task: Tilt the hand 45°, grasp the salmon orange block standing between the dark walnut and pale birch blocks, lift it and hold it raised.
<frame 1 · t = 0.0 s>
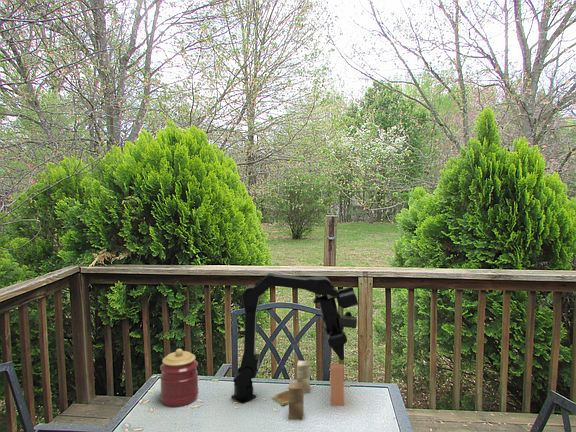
hand: (340, 354, 137), 15 cm above the table, tool pointing down, fingers open, 9 cm apart
shard: (284, 399, 138), on the table
walnut block: (296, 415, 126), on the table
salmon orange block: (337, 402, 135), on the table
birch block: (303, 390, 144), on the table
canister: (179, 398, 138), on the table
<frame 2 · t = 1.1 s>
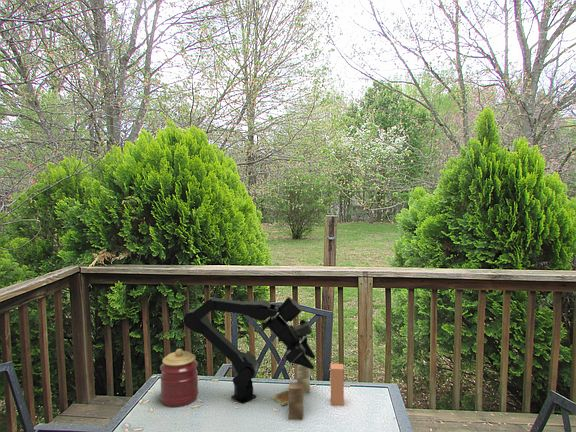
hand: (313, 362, 135), 13 cm above the table, tool tilted 45°, fingers open, 9 cm apart
nothing on the table moved.
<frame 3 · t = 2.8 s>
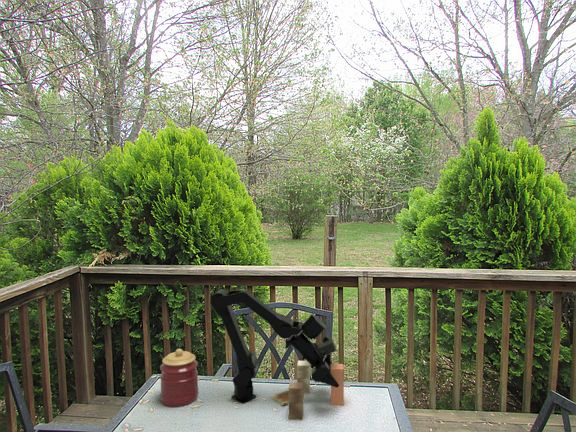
hand: (338, 380, 135), 8 cm above the table, tool tilted 45°, fingers open, 9 cm apart
nothing on the table moved.
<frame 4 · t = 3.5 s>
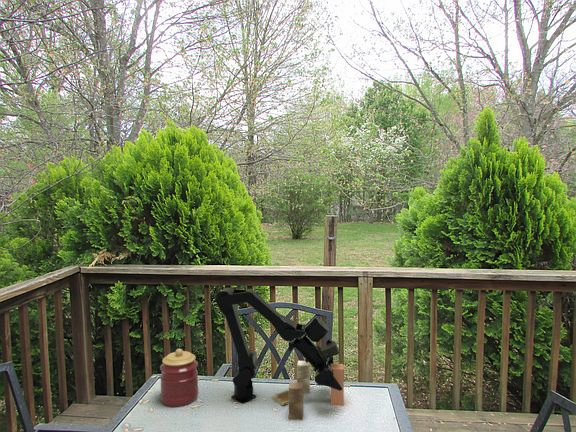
hand: (341, 383, 135), 7 cm above the table, tool tilted 45°, fingers open, 9 cm apart
nothing on the table moved.
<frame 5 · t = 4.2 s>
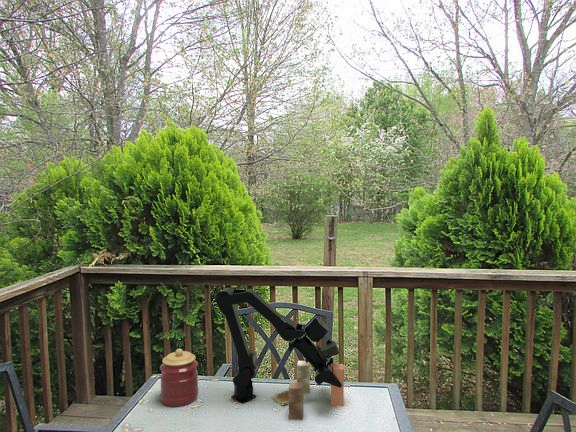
hand: (341, 383, 134), 7 cm above the table, tool tilted 45°, fingers closed on salmon orange block, 4 cm apart
salmon orange block: (337, 402, 135), on the table, touching gripper
everything else where it was.
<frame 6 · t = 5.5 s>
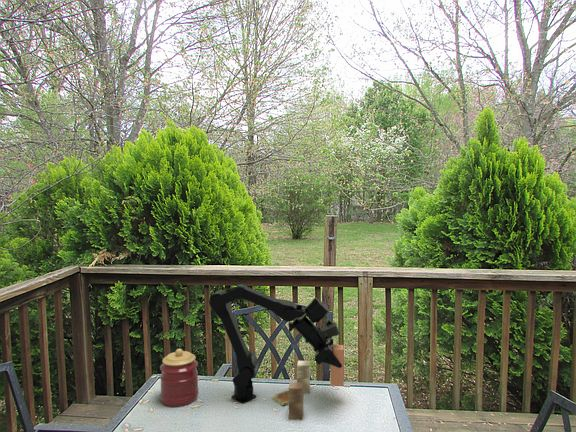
hand: (341, 364, 134), 13 cm above the table, tool tilted 45°, fingers closed on salmon orange block, 4 cm apart
salmon orange block: (337, 382, 135), point 7 cm above the table, touching gripper
everything else where it was.
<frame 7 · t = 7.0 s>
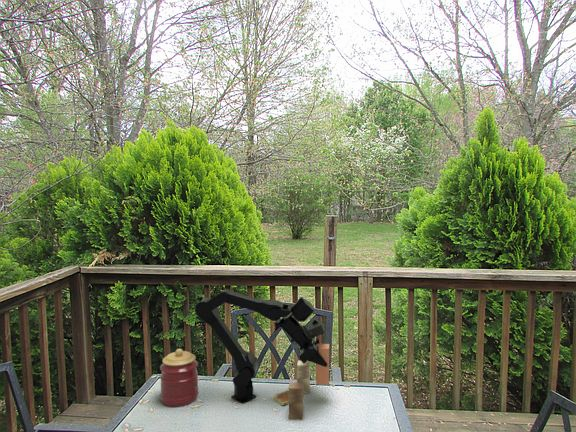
hand: (326, 363, 135), 13 cm above the table, tool tilted 45°, fingers closed on salmon orange block, 4 cm apart
salmon orange block: (322, 381, 135), point 7 cm above the table, touching gripper
everything else where it was.
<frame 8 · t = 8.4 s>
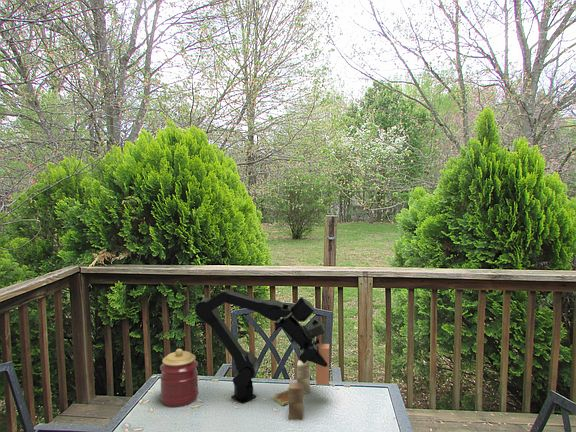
hand: (326, 363, 135), 13 cm above the table, tool tilted 45°, fingers closed on salmon orange block, 4 cm apart
salmon orange block: (322, 381, 135), point 7 cm above the table, touching gripper
everything else where it was.
at the end: the gripper is holding salmon orange block; salmon orange block point 6.9 cm above the table; walnut block moved 0.0 cm from its start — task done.
